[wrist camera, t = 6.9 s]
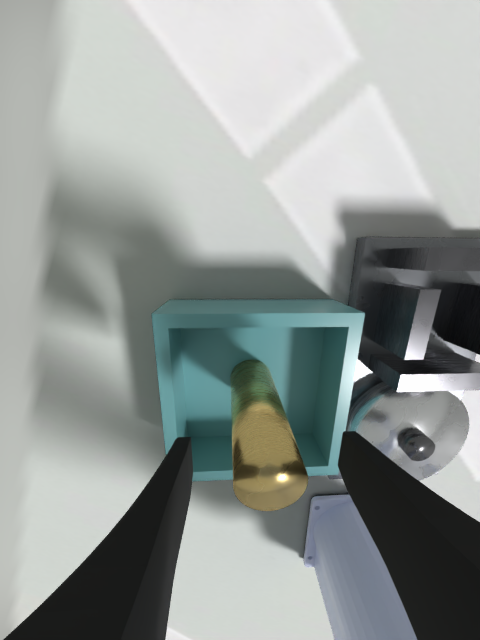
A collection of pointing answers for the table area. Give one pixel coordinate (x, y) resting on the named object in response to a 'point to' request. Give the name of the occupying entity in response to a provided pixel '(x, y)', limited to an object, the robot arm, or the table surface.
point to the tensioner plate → (415, 347)
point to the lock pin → (263, 442)
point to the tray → (276, 353)
